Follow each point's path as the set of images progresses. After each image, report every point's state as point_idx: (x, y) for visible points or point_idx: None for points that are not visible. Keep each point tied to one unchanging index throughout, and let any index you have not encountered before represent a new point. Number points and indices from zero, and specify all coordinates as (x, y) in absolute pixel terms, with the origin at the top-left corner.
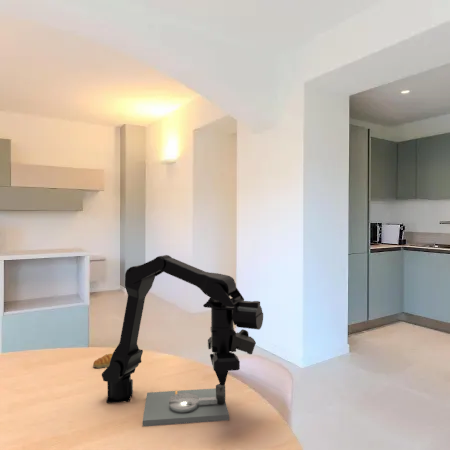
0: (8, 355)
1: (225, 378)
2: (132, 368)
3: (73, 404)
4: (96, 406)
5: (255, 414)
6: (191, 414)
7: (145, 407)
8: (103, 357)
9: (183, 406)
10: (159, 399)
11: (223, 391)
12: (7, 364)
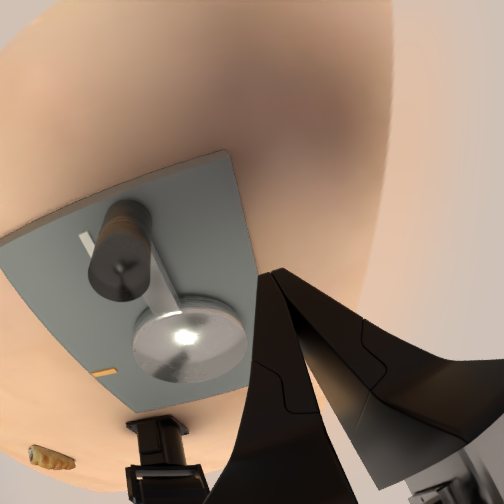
0: (104, 492)
1: (329, 301)
2: (169, 483)
3: (203, 446)
4: (202, 432)
5: (153, 33)
6: (242, 298)
7: (215, 394)
8: (57, 469)
9: (245, 339)
10: (162, 389)
11: (138, 241)
12: (125, 490)
